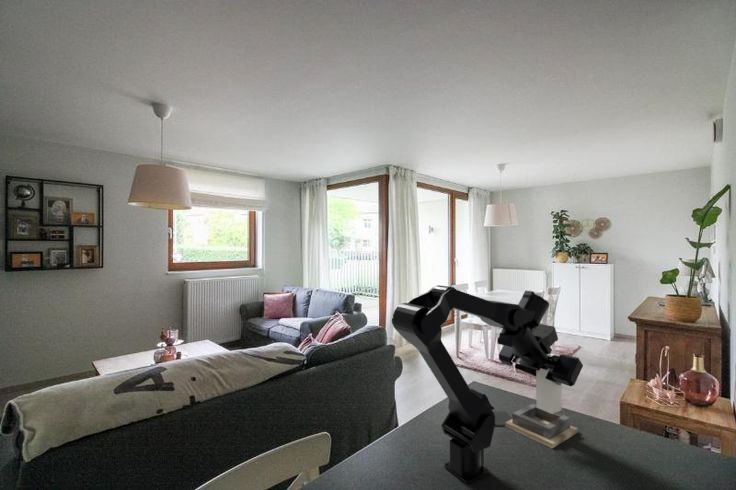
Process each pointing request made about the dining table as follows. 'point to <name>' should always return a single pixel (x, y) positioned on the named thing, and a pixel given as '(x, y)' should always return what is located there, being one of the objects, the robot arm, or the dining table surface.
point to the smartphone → (501, 417)
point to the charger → (547, 393)
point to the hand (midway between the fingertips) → (551, 380)
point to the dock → (541, 425)
